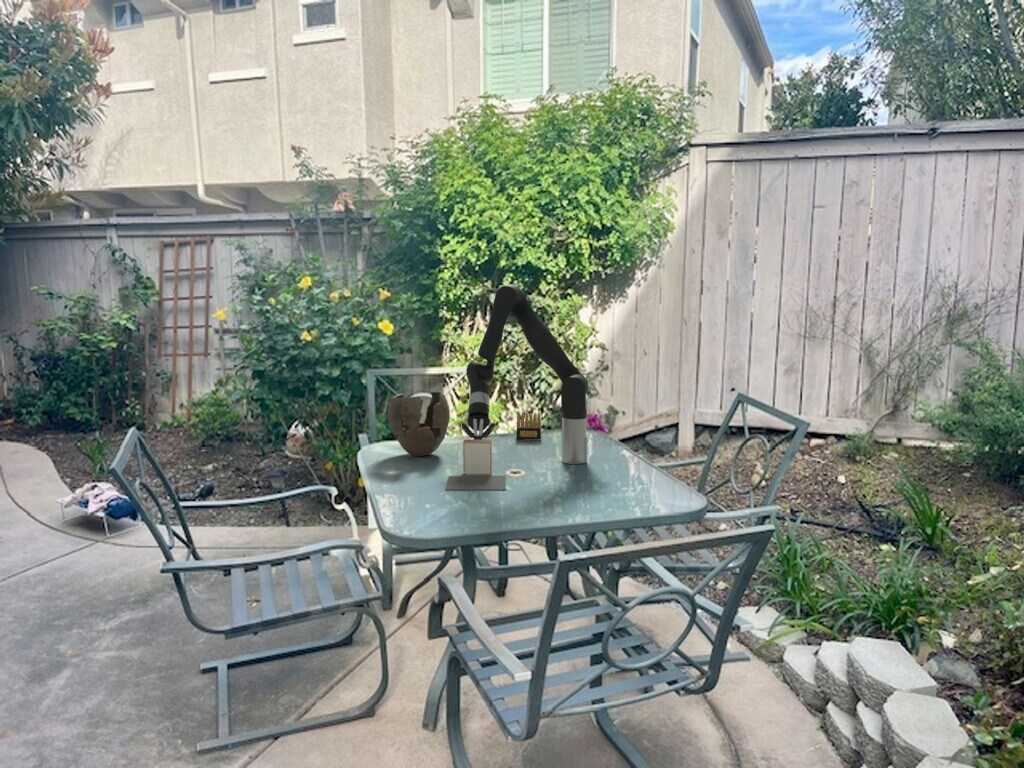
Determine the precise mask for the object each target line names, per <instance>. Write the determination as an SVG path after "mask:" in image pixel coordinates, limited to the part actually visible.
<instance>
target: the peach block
mask: <svg viewBox="0 0 1024 768" xmlns="http://www.w3.org/2000/svg"><path fill="white" fill-rule="evenodd" d="M492 442H493V441H492V439H489V438H488V439H486V438H485V439H484V438H482V439H474V438H472V439H470V438H469V439H465V438H464V439H463V441H462V445H463V446H462V453H463V455H462V456H463V458H462V459H463V461H462V462H463V465H462V466H463V467H462V468H463V474H476V475H475V476H493V474H492V473H493V472H492V471H493V470H492V469H493V467H492V466H493V461H492V460H493V459H492V457H493V453H492V451H493V449H492V448H493V445H492V444H493V443H492Z"/></svg>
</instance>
